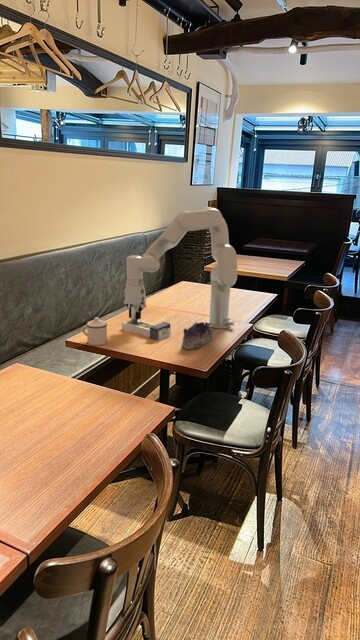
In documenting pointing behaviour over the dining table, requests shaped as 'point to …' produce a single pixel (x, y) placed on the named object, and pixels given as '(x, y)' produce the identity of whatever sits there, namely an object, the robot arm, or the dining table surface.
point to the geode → (197, 336)
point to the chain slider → (133, 318)
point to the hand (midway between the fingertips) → (134, 318)
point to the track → (149, 329)
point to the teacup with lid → (96, 332)
